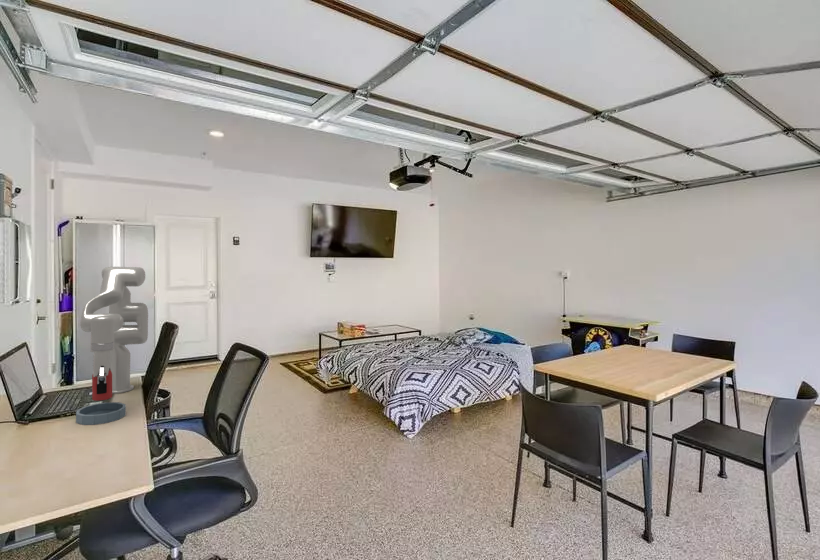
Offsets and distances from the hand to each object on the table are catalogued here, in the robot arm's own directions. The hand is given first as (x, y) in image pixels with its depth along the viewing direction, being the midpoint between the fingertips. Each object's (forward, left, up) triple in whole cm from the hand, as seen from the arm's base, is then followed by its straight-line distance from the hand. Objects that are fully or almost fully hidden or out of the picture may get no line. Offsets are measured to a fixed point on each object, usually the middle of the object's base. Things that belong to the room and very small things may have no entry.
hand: (101, 390), depth 170 cm
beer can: (0, 0, -4) cm, 4 cm away
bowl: (0, 0, -11) cm, 11 cm away
